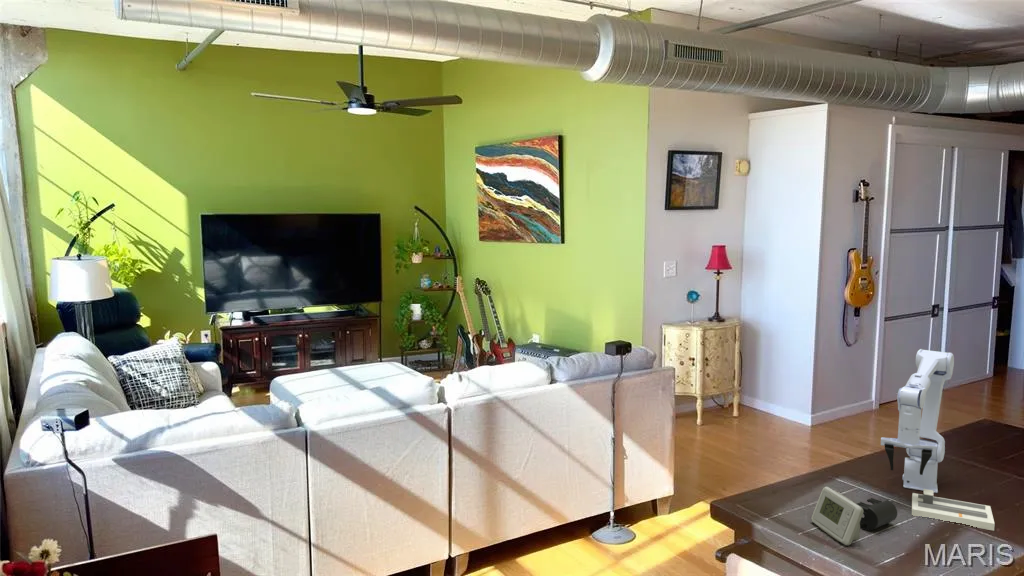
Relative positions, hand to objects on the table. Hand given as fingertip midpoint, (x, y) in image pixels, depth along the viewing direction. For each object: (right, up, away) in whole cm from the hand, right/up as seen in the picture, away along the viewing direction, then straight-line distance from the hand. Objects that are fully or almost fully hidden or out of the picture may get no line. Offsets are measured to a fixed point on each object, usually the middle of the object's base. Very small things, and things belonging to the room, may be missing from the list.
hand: (906, 471), depth 216 cm
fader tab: (+5, -9, -2) cm, 10 cm away
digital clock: (-29, -13, -18) cm, 37 cm away
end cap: (-16, -12, -13) cm, 24 cm away
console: (+10, -11, -5) cm, 16 cm away
